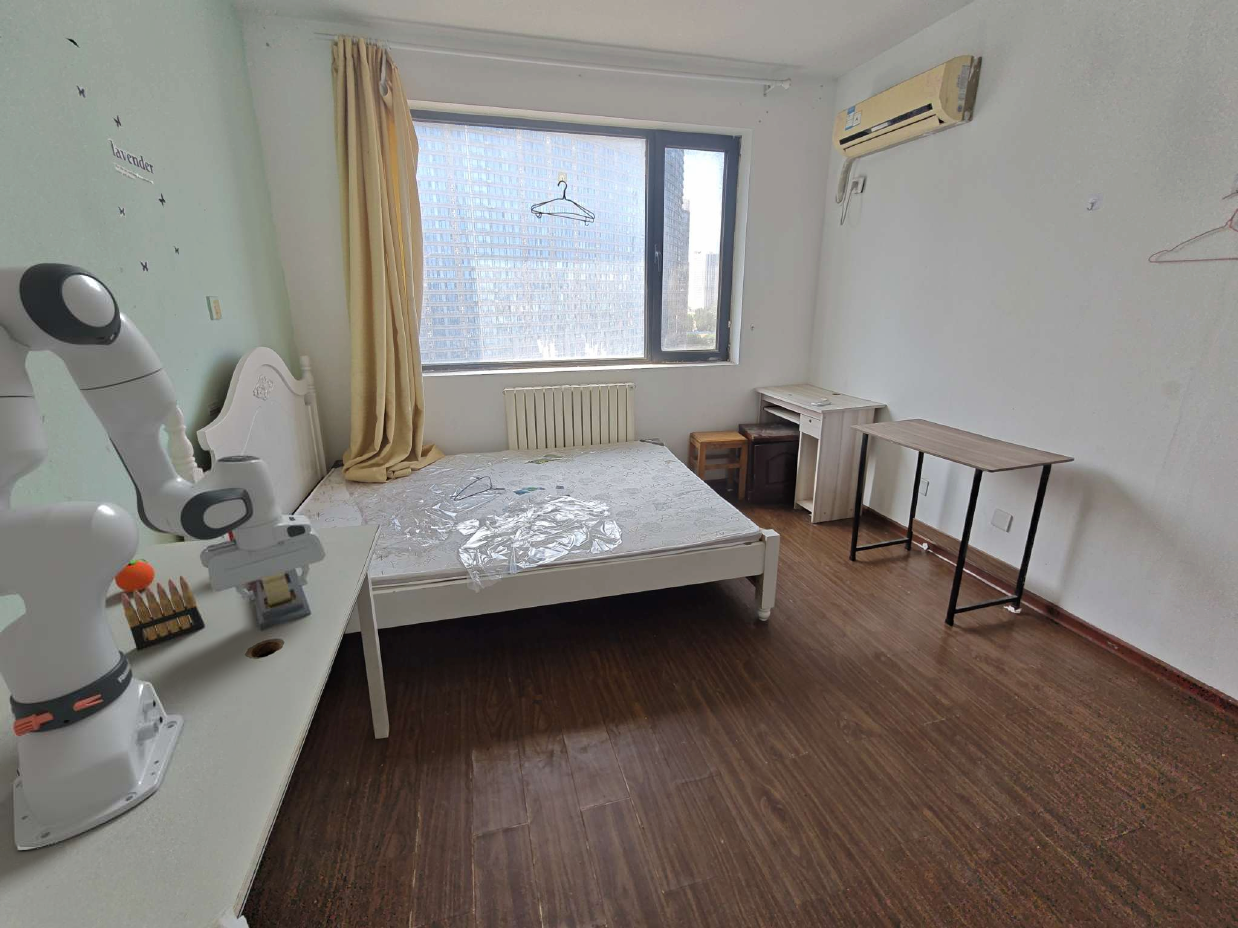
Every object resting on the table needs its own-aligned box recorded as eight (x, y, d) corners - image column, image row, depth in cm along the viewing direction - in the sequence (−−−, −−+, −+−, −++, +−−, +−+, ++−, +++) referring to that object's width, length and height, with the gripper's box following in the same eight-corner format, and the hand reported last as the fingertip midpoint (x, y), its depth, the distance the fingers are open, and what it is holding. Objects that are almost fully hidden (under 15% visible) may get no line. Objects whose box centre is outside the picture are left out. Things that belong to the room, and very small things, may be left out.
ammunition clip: (137, 650, 105) (115, 596, 101) (137, 646, 106) (116, 592, 103) (205, 627, 111) (187, 575, 108) (204, 623, 113) (186, 572, 109)
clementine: (137, 581, 132) (127, 554, 130) (168, 577, 133) (159, 551, 130) (112, 599, 124) (101, 571, 122) (145, 595, 125) (135, 568, 123)
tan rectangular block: (293, 605, 114) (285, 577, 112) (271, 612, 112) (263, 584, 110) (290, 597, 118) (283, 570, 116) (269, 604, 115) (261, 577, 113)
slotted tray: (311, 613, 114) (307, 600, 113) (260, 630, 109) (257, 617, 108) (293, 564, 136) (290, 553, 135) (250, 576, 131) (247, 565, 130)
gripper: (196, 554, 101) (218, 618, 106) (318, 522, 113) (333, 581, 117) (197, 543, 106) (217, 604, 111) (313, 513, 118) (327, 570, 122)
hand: (277, 592), depth 114 cm, fingers open, 8 cm apart
